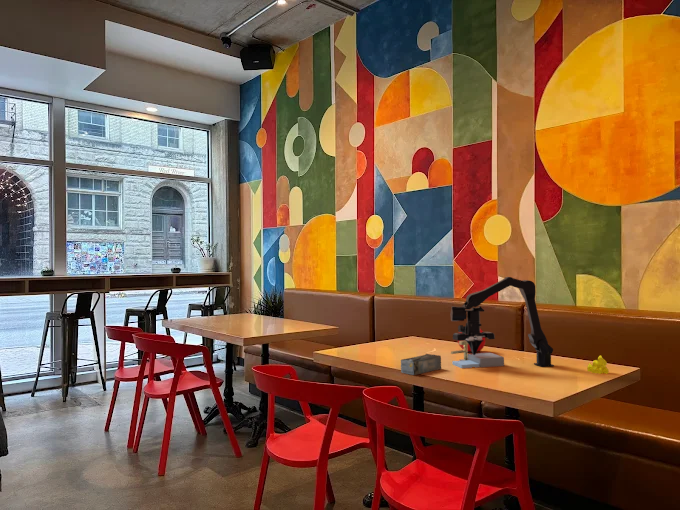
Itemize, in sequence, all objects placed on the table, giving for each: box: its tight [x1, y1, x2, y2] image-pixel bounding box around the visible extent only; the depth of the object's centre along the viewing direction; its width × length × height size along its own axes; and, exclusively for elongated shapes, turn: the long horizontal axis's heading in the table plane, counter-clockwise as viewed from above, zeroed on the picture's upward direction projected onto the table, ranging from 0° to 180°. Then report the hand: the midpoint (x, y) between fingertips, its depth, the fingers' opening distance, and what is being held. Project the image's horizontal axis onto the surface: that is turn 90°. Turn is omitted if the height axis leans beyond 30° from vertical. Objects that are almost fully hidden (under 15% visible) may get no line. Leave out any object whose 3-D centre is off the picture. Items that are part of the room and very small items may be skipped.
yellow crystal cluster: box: [587, 354, 610, 375], centre depth 223 cm, size 6×8×8 cm
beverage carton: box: [400, 353, 442, 376], centre depth 228 cm, size 8×19×7 cm, turn 130°
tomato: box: [457, 328, 486, 353], centre depth 275 cm, size 16×14×14 cm
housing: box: [459, 352, 505, 368], centre depth 245 cm, size 18×13×4 cm
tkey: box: [450, 341, 469, 360], centre depth 249 cm, size 13×2×9 cm, turn 121°
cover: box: [452, 360, 481, 369], centre depth 238 cm, size 9×9×2 cm
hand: (473, 354), depth 240 cm, fingers closed
